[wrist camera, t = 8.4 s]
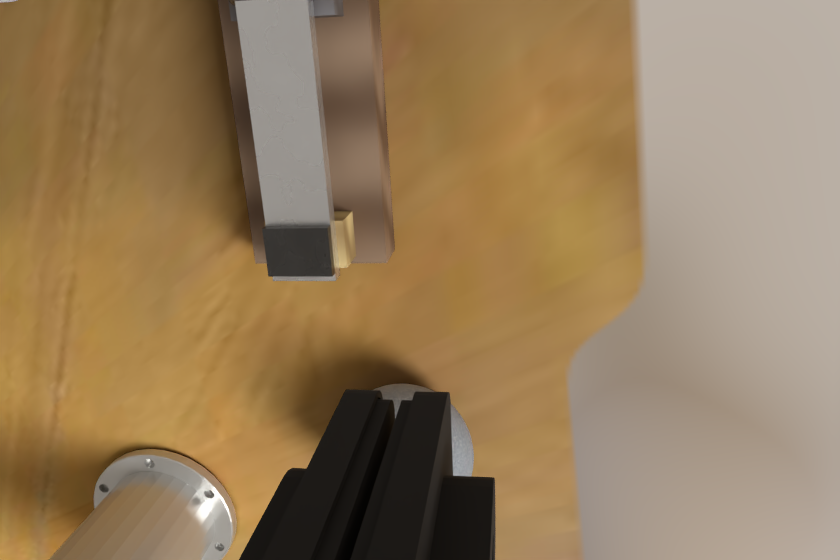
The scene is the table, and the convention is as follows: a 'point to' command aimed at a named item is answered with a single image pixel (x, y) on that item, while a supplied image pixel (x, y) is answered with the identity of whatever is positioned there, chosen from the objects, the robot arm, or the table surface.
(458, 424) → the decorative stone
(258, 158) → the grey flat bar
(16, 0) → the dog figurine
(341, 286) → the table surface
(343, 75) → the mount block
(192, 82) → the table surface
